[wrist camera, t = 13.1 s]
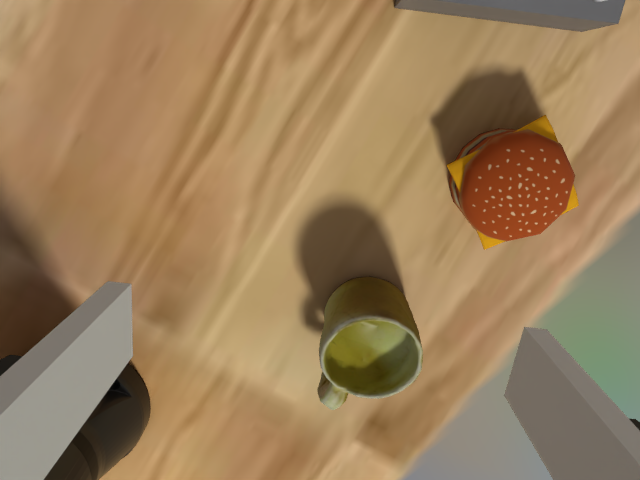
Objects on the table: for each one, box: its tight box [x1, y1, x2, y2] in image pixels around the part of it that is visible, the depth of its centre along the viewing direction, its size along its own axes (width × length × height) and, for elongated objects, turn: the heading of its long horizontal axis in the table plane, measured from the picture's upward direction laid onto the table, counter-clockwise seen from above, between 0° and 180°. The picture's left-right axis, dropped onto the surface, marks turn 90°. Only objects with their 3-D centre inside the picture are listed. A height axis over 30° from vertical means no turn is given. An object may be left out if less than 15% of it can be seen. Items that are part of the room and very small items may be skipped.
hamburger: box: [447, 115, 579, 250], centre depth 39 cm, size 9×10×7 cm
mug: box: [318, 277, 423, 410], centre depth 43 cm, size 12×10×10 cm
